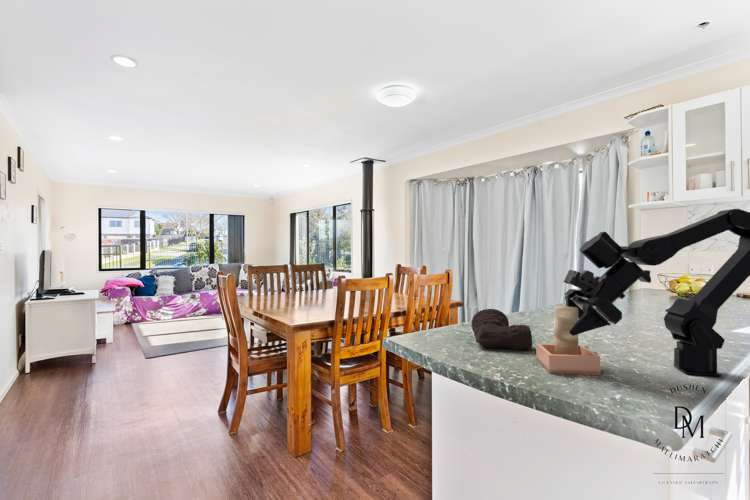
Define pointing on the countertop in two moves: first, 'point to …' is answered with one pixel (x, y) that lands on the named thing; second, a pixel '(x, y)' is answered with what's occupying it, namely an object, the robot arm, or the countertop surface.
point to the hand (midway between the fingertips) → (563, 329)
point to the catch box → (568, 361)
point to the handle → (587, 347)
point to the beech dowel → (565, 330)
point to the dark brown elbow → (500, 331)
